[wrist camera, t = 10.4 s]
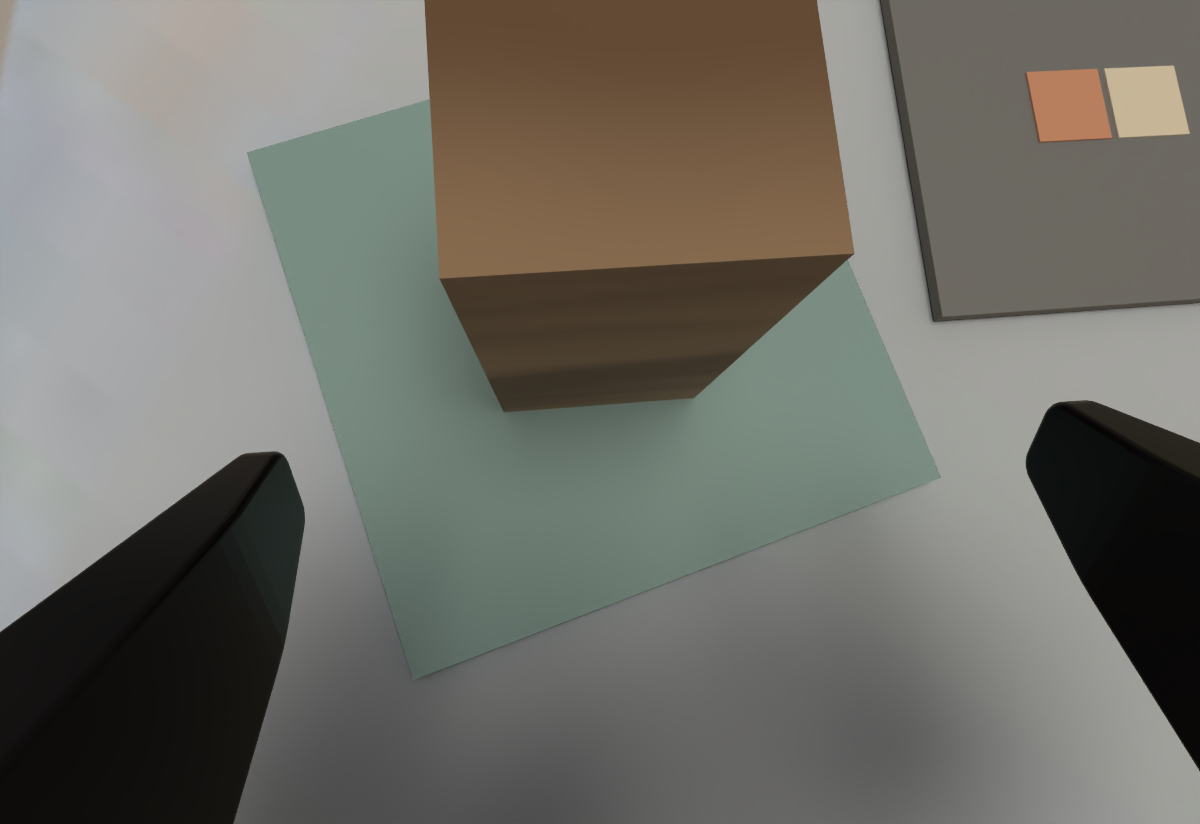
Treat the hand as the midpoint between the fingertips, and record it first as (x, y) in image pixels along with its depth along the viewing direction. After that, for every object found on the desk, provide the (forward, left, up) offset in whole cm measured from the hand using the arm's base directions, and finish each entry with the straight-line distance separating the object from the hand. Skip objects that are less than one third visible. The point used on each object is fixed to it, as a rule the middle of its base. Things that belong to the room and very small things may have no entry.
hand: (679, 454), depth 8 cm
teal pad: (+4, -1, -8) cm, 9 cm away
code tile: (+5, -16, -8) cm, 19 cm away
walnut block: (+4, -1, -8) cm, 9 cm away
